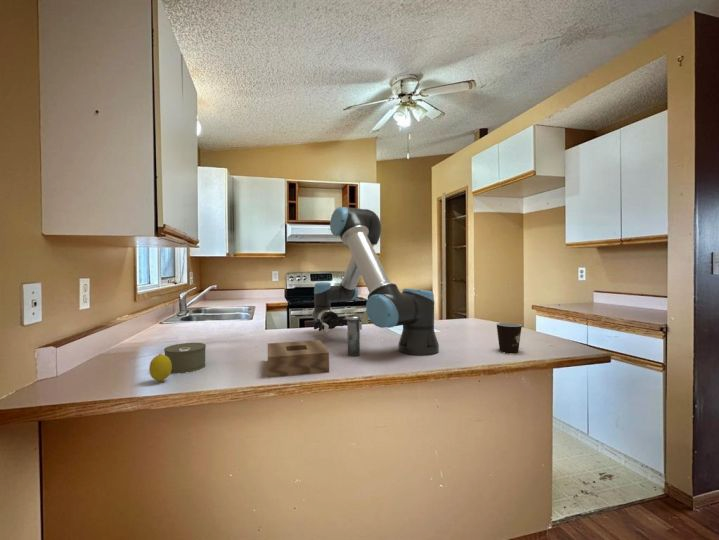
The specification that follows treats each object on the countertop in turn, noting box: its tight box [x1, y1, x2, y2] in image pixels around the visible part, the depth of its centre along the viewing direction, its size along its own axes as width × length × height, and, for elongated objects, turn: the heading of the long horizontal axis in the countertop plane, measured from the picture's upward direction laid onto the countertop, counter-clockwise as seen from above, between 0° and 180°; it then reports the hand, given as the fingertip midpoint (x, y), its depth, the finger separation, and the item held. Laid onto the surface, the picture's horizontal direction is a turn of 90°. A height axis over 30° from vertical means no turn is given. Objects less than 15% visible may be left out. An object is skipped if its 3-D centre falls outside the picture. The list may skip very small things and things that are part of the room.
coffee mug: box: [496, 322, 523, 354], centre depth 132 cm, size 12×9×10 cm
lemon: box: [148, 353, 172, 383], centre depth 100 cm, size 6×6×8 cm
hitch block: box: [267, 339, 330, 378], centre depth 114 cm, size 18×18×6 cm
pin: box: [344, 314, 363, 357], centre depth 128 cm, size 6×6×14 cm
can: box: [163, 342, 207, 374], centre depth 113 cm, size 12×12×7 cm
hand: (344, 327), depth 137 cm, fingers open, 13 cm apart
